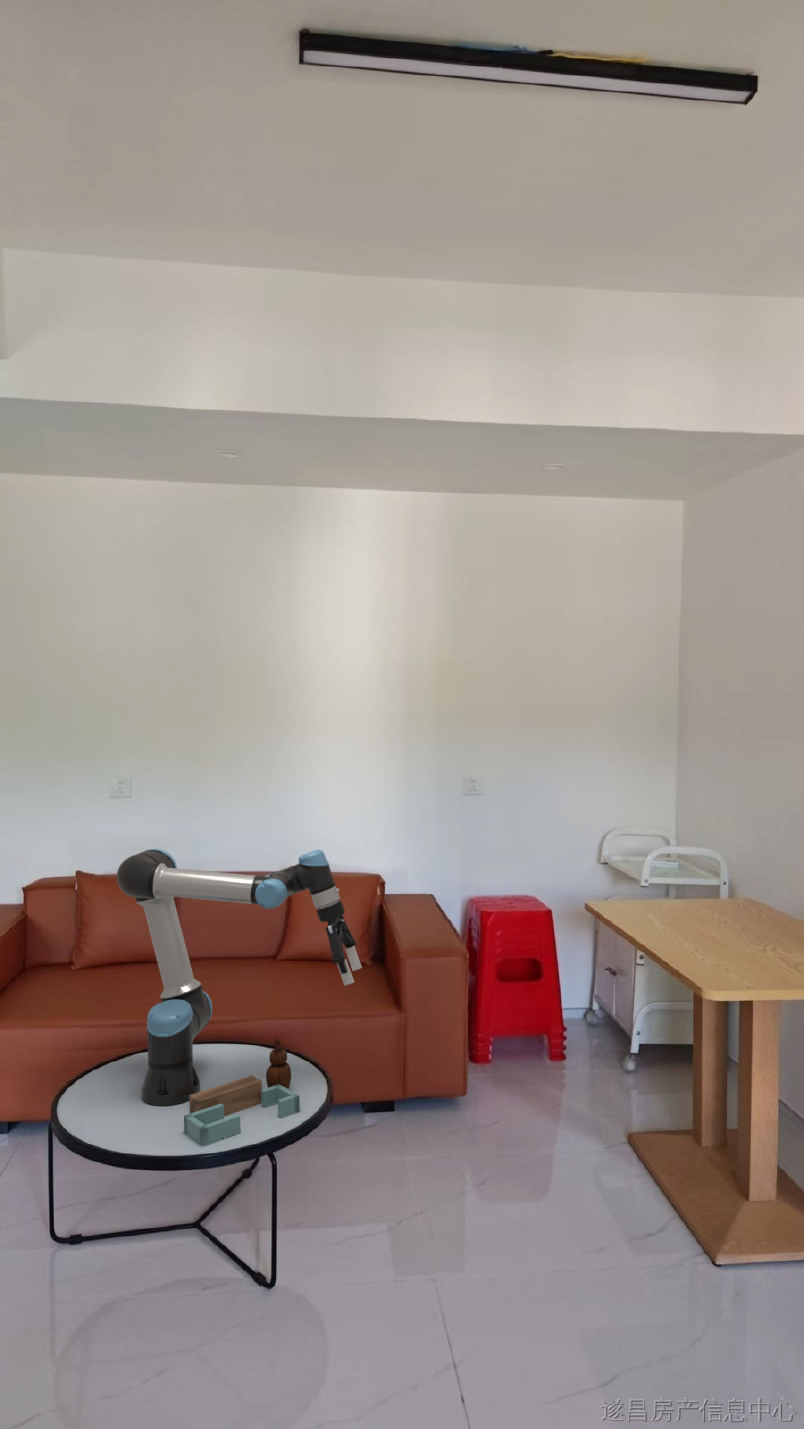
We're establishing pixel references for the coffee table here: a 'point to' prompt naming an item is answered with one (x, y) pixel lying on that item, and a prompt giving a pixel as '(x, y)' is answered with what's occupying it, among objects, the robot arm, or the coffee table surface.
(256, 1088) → the slat
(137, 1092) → the coffee table surface
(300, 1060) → the coffee table surface
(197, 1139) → the endcaps
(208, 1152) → the coffee table surface
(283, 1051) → the wooden figurine
